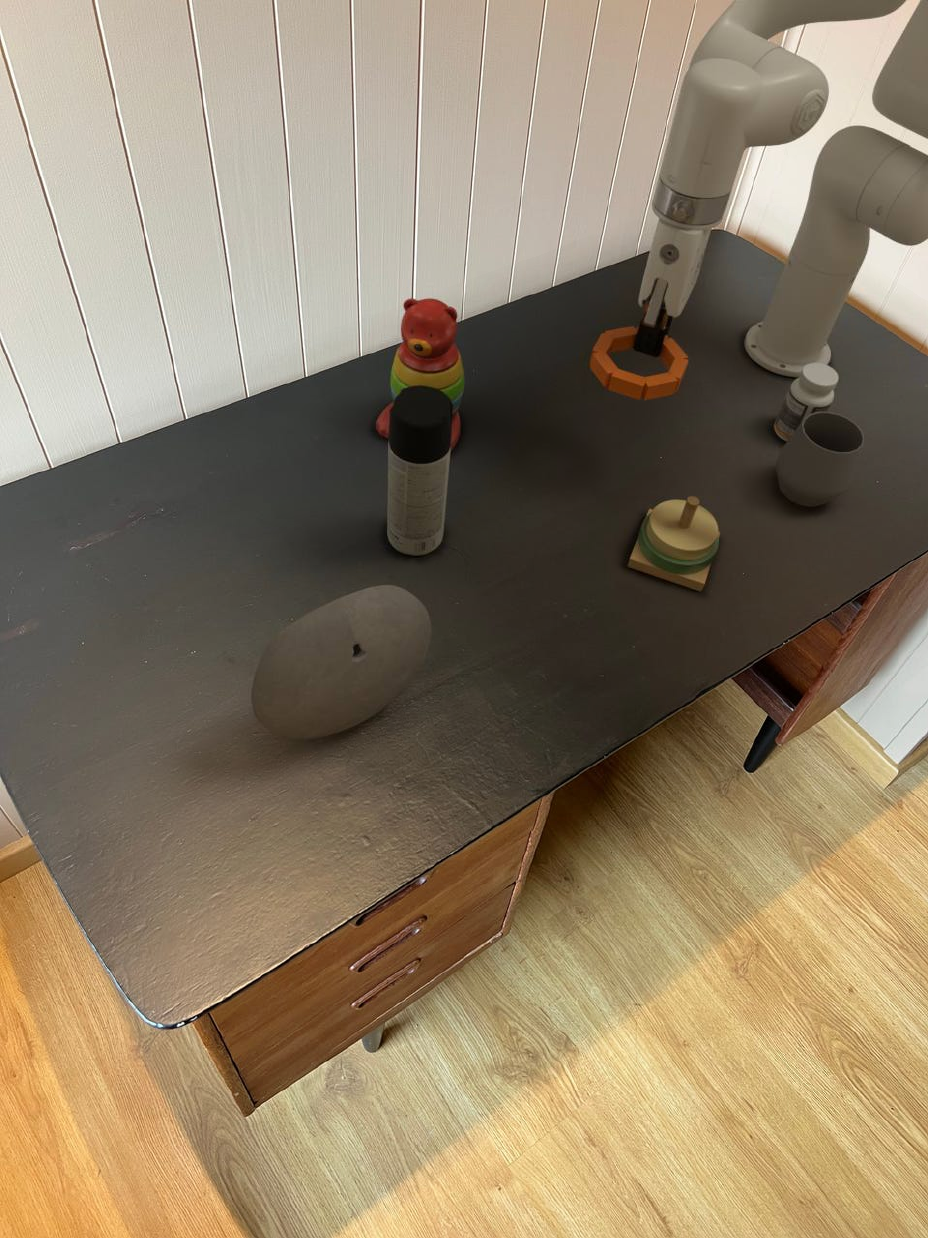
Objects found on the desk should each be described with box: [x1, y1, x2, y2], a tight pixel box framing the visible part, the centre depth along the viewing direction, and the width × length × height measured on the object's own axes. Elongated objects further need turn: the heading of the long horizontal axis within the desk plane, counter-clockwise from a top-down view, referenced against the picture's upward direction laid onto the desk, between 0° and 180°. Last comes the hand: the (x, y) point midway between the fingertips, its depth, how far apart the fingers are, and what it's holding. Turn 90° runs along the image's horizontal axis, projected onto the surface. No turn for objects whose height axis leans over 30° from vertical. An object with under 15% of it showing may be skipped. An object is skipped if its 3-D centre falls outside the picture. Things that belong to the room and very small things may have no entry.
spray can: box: [386, 385, 453, 557], centre depth 100 cm, size 7×7×20 cm
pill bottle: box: [773, 363, 839, 442], centre depth 121 cm, size 6×6×10 cm
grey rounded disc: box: [250, 584, 432, 740], centre depth 85 cm, size 18×7×19 cm, turn 123°
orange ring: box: [588, 325, 690, 401], centre depth 106 cm, size 11×11×2 cm
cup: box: [775, 411, 866, 508], centre depth 114 cm, size 10×9×10 cm
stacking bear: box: [375, 297, 466, 452], centre depth 113 cm, size 11×10×18 cm
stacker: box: [627, 495, 721, 593], centre depth 106 cm, size 9×9×9 cm
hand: (648, 346), depth 109 cm, fingers closed on orange ring, 1 cm apart
